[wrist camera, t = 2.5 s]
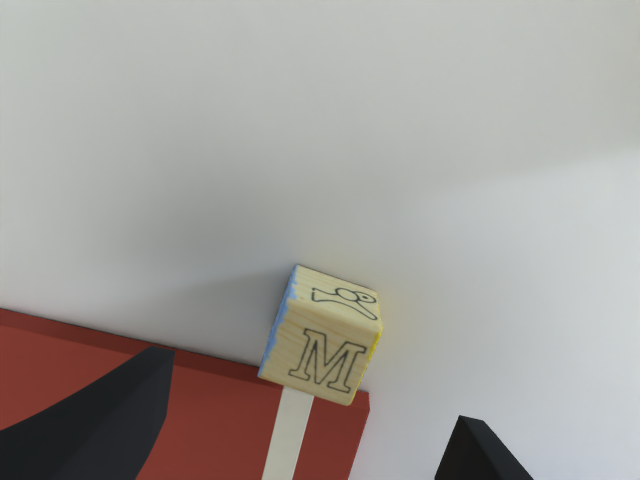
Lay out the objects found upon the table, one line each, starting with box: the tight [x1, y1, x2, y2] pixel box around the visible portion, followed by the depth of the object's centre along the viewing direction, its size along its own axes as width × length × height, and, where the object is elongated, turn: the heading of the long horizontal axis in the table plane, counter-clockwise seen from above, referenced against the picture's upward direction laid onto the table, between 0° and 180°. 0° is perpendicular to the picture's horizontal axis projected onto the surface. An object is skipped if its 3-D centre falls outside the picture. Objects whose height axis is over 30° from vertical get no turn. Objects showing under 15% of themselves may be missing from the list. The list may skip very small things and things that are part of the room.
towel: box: [0, 309, 370, 480], centre depth 19 cm, size 18×11×1 cm, turn 78°
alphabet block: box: [257, 265, 383, 406], centre depth 15 cm, size 3×3×3 cm
